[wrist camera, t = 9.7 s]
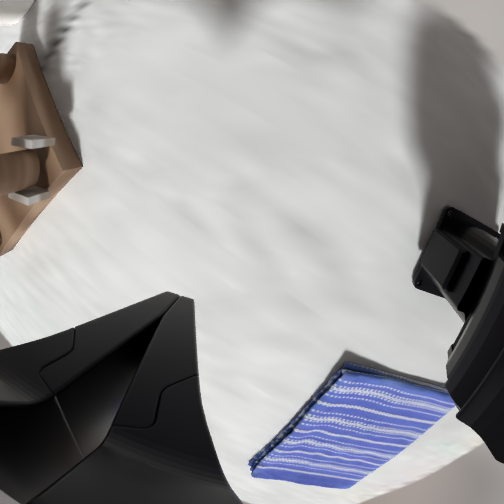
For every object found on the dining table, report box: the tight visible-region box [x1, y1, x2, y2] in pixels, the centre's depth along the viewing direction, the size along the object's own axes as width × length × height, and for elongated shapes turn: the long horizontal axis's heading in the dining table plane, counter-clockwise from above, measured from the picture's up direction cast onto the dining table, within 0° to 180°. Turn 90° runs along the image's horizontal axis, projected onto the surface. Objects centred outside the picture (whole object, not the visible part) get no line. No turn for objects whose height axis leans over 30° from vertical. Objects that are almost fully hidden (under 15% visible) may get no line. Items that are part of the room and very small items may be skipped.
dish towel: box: [248, 362, 455, 489], centre depth 26 cm, size 17×24×3 cm
